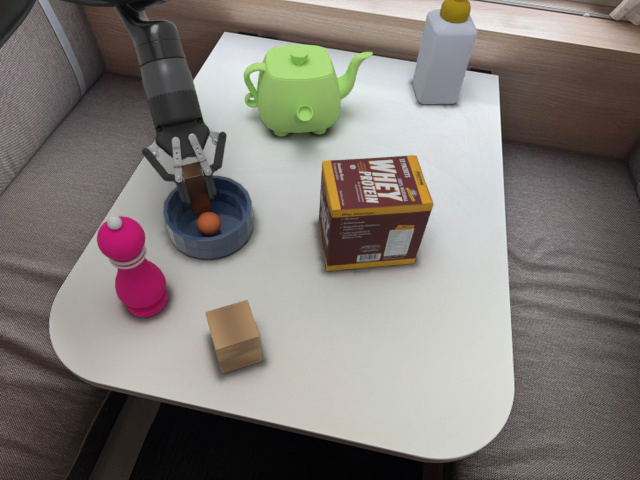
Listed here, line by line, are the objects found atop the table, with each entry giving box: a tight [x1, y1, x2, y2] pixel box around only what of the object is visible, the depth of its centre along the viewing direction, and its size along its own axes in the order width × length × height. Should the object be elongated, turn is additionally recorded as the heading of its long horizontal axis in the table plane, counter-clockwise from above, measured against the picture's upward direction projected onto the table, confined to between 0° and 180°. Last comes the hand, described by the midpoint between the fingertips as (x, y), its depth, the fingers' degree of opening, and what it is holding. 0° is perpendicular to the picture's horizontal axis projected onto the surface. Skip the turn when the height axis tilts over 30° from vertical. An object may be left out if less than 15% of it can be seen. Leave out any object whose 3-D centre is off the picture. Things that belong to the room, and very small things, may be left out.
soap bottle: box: [411, 0, 478, 105], centre depth 107 cm, size 9×9×25 cm
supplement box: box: [317, 154, 435, 272], centre depth 84 cm, size 10×15×16 cm
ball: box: [197, 212, 221, 235], centre depth 88 cm, size 4×4×4 cm
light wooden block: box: [204, 299, 263, 375], centre depth 74 cm, size 6×6×8 cm
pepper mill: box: [96, 215, 168, 318], centre depth 73 cm, size 7×7×20 cm
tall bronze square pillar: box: [182, 161, 212, 215], centre depth 85 cm, size 3×3×9 cm
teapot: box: [243, 44, 374, 137], centre depth 102 cm, size 25×22×16 cm
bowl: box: [162, 174, 254, 260], centre depth 89 cm, size 14×14×6 cm
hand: (200, 201), depth 83 cm, fingers closed on tall bronze square pillar, 3 cm apart
